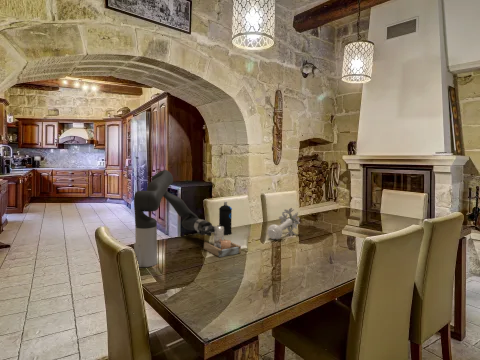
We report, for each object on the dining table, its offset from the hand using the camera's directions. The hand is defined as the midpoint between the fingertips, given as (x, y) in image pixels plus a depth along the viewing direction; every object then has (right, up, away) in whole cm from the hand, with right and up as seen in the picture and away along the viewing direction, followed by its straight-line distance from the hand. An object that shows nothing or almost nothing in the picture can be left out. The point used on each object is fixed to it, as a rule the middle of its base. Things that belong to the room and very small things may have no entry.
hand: (217, 232), depth 168 cm
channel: (+2, -9, -3) cm, 10 cm away
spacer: (+4, -9, -6) cm, 12 cm away
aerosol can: (+2, -6, +33) cm, 34 cm away
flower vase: (+39, -7, +27) cm, 48 cm away
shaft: (+1, -9, -1) cm, 9 cm away
